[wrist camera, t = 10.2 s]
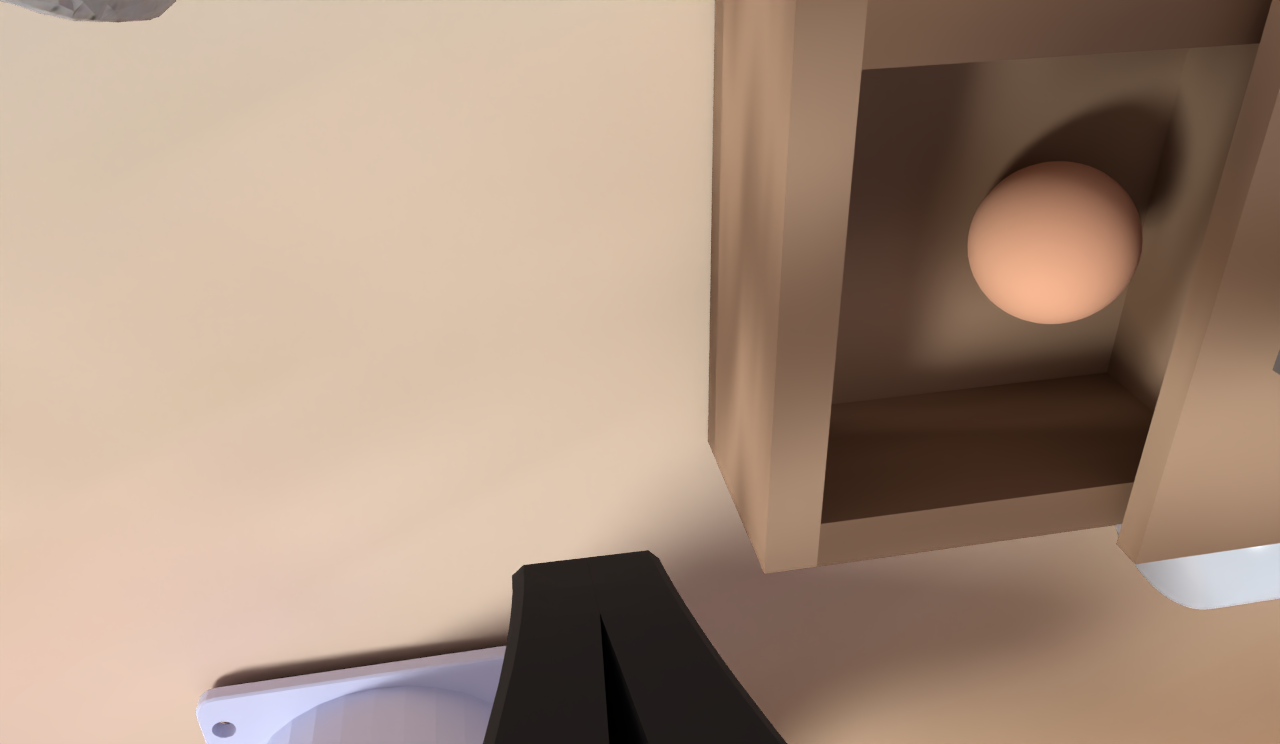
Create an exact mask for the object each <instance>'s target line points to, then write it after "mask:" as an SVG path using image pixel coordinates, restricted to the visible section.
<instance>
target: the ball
mask: <svg viewBox="0 0 1280 744" xmlns="http://www.w3.org/2000/svg"><path fill="white" fill-rule="evenodd" d="M1142 243H1143V233H1142V225H1141V221H1140V217H1139V213H1138V211H1137V209H1136V206H1135V205H1134V203H1133V201H1132V199H1131V198H1130V196H1129V195H1128V193H1127V192H1126V191H1125V190H1124V189H1123V188H1122V187H1121V186H1120V185H1119V183H1118V182H1116V181H1115V180H1114V179H1112V178H1111V177H1110V176H1108V175H1107V174H1105V173H1104V172H1102V171H1099V170H1097V169H1095V168H1093V167H1090V166H1087V165H1084V164H1080V163H1075V162H1067V161H1052V162H1044V163H1039V164H1035V165H1032V166H1028V167H1025V168H1023V169H1021V170H1018V171H1016V172H1014V173H1013V174H1011V175H1009V176H1008V177H1006V178H1005V179H1003V180H1002V181H1001V182H999V183H998V184H997V185H996V186H995V187H994V188H993V189H992V190H991V191H990V192H989V193H988V194H987V195H986V197H985V198H984V199H983V200H982V202H981V204H980V205H979V207H978V209H977V211H976V213H975V215H974V217H973V220H972V222H971V225H970V229H969V234H968V259H969V264H970V268H971V271H972V274H973V276H974V278H975V280H976V282H977V284H978V285H979V287H980V289H981V290H982V292H983V293H984V294H985V295H986V296H987V297H988V299H989V300H990V301H991V302H993V303H994V304H995V305H996V306H997V307H999V308H1000V309H1002V310H1003V311H1005V312H1006V313H1008V314H1010V315H1012V316H1014V317H1017V318H1019V319H1022V320H1025V321H1030V322H1034V323H1040V324H1062V323H1068V322H1073V321H1076V320H1080V319H1083V318H1086V317H1088V316H1090V315H1092V314H1094V313H1096V312H1098V311H1100V310H1101V309H1103V308H1104V307H1106V306H1107V305H1109V304H1110V303H1111V302H1112V301H1114V300H1115V299H1116V298H1117V297H1118V296H1119V295H1120V294H1121V293H1122V291H1123V290H1124V289H1125V288H1126V286H1127V285H1128V284H1129V282H1130V281H1131V279H1132V277H1133V275H1134V273H1135V271H1136V269H1137V266H1138V264H1139V260H1140V257H1141V252H1142Z"/></svg>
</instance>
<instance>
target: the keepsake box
mask: <svg viewBox="0 0 1280 744" xmlns="http://www.w3.org/2000/svg"><path fill="white" fill-rule="evenodd" d="M1271 3H1272V0H715V43H714V105H713V167H712V229H711V291H710V353H709V415H708V442H709V445H710V447H711V449H712V452H713V454H714V457H715V459H716V461H717V464H718V466H719V468H720V471H721V473H722V475H723V478H724V480H725V482H726V485H727V487H728V490H729V492H730V494H731V497H732V499H733V501H734V504H735V506H736V508H737V511H738V513H739V515H740V518H741V520H742V523H743V525H744V527H745V530H746V532H747V534H748V537H749V539H750V541H751V544H752V546H753V548H754V551H755V553H756V556H757V558H758V560H759V563H760V565H761V567H762V570H763V572H764V574H768V573H776V572H783V571H790V570H797V569H804V568H811V567H818V566H826V565H833V564H840V563H847V562H854V561H861V560H868V559H876V558H883V557H890V556H897V555H904V554H911V553H918V552H926V551H933V550H940V549H947V548H954V547H961V546H968V545H976V544H983V543H990V542H997V541H1004V540H1011V539H1018V538H1026V537H1033V536H1040V535H1047V534H1054V533H1061V532H1068V531H1075V530H1083V529H1090V528H1097V527H1104V526H1111V525H1118V524H1122V523H1123V519H1124V516H1125V512H1126V509H1127V505H1128V502H1129V498H1130V495H1131V491H1132V488H1133V484H1134V481H1135V477H1136V474H1137V470H1138V467H1139V463H1140V460H1141V456H1142V453H1143V449H1144V446H1145V442H1146V439H1147V435H1148V432H1149V428H1150V425H1151V421H1152V418H1153V414H1154V411H1155V407H1156V404H1157V400H1158V397H1159V394H1160V390H1161V387H1162V383H1163V380H1164V376H1165V373H1166V369H1167V366H1168V362H1169V359H1170V355H1171V352H1172V348H1173V345H1174V341H1175V338H1176V334H1177V331H1178V327H1179V324H1180V320H1181V317H1182V313H1183V310H1184V306H1185V303H1186V299H1187V296H1188V292H1189V289H1190V285H1191V282H1192V278H1193V275H1194V271H1195V268H1196V264H1197V261H1198V257H1199V254H1200V250H1201V247H1202V243H1203V240H1204V236H1205V233H1206V229H1207V226H1208V222H1209V219H1210V215H1211V212H1212V208H1213V205H1214V202H1215V198H1216V195H1217V191H1218V188H1219V184H1220V181H1221V177H1222V174H1223V170H1224V167H1225V163H1226V160H1227V156H1228V153H1229V149H1230V146H1231V142H1232V139H1233V135H1234V132H1235V128H1236V125H1237V121H1238V118H1239V114H1240V111H1241V107H1242V104H1243V100H1244V97H1245V93H1246V90H1247V86H1248V83H1249V79H1250V76H1251V72H1252V69H1253V65H1254V62H1255V58H1256V55H1257V51H1258V48H1259V44H1260V41H1261V37H1262V34H1263V30H1264V27H1265V23H1266V20H1267V16H1268V13H1269V9H1270V6H1271ZM1052 161H1067V162H1075V163H1080V164H1084V165H1087V166H1090V167H1093V168H1095V169H1097V170H1099V171H1102V172H1104V173H1105V174H1107V175H1108V176H1110V177H1111V178H1112V179H1114V180H1115V181H1116V182H1118V183H1119V185H1120V186H1121V187H1122V188H1123V189H1124V190H1125V191H1126V192H1127V193H1128V195H1129V196H1130V198H1131V199H1132V201H1133V203H1134V205H1135V206H1136V209H1137V211H1138V213H1139V217H1140V221H1141V225H1142V233H1143V243H1142V252H1141V257H1140V260H1139V264H1138V266H1137V269H1136V271H1135V273H1134V275H1133V277H1132V279H1131V281H1130V282H1129V284H1128V285H1127V286H1126V288H1125V289H1124V290H1123V291H1122V293H1121V294H1120V295H1119V296H1118V297H1117V298H1116V299H1115V300H1114V301H1112V302H1111V303H1110V304H1109V305H1107V306H1106V307H1104V308H1103V309H1101V310H1100V311H1098V312H1096V313H1094V314H1092V315H1090V316H1088V317H1086V318H1083V319H1080V320H1076V321H1073V322H1068V323H1062V324H1040V323H1034V322H1030V321H1025V320H1022V319H1019V318H1017V317H1014V316H1012V315H1010V314H1008V313H1006V312H1005V311H1003V310H1002V309H1000V308H999V307H997V306H996V305H995V304H994V303H993V302H991V301H990V300H989V299H988V297H987V296H986V295H985V294H984V293H983V292H982V290H981V289H980V287H979V285H978V284H977V282H976V280H975V278H974V276H973V274H972V271H971V268H970V264H969V259H968V234H969V229H970V225H971V222H972V220H973V217H974V215H975V213H976V211H977V209H978V207H979V205H980V204H981V202H982V200H983V199H984V198H985V197H986V195H987V194H988V193H989V192H990V191H991V190H992V189H993V188H994V187H995V186H996V185H997V184H998V183H999V182H1001V181H1002V180H1003V179H1005V178H1006V177H1008V176H1009V175H1011V174H1013V173H1014V172H1016V171H1018V170H1021V169H1023V168H1025V167H1028V166H1032V165H1035V164H1039V163H1044V162H1052Z"/></svg>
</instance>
